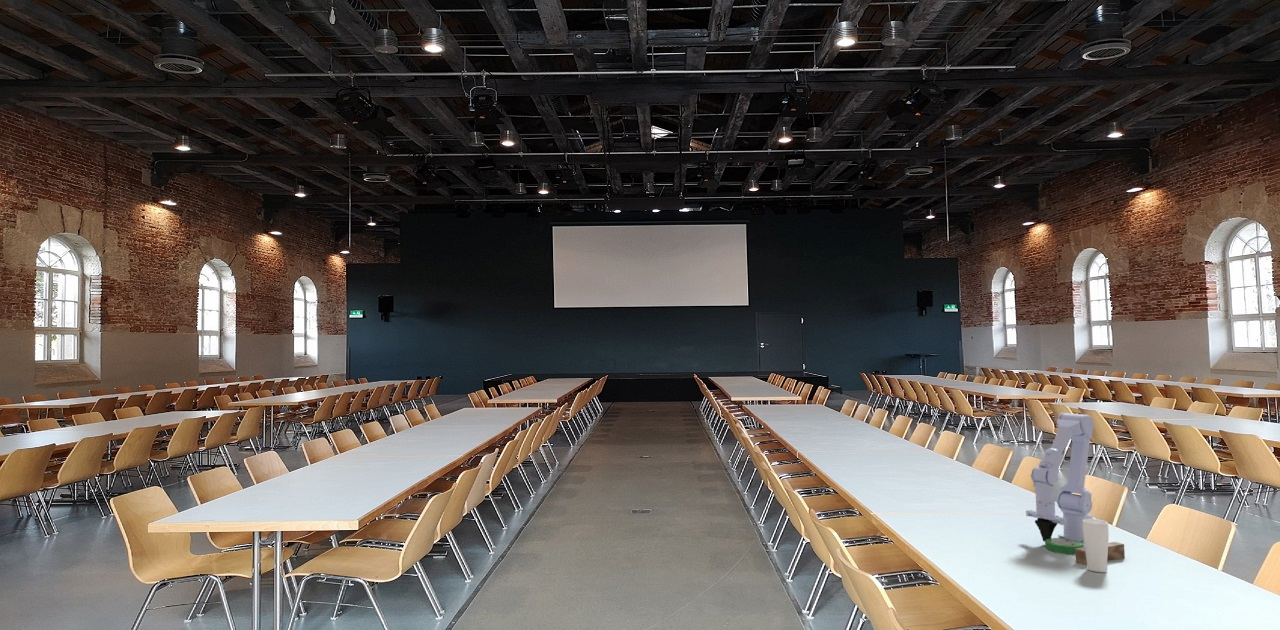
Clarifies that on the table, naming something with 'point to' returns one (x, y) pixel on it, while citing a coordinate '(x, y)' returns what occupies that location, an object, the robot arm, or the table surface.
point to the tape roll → (1062, 545)
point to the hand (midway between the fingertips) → (1046, 541)
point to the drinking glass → (1096, 544)
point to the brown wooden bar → (1113, 553)
